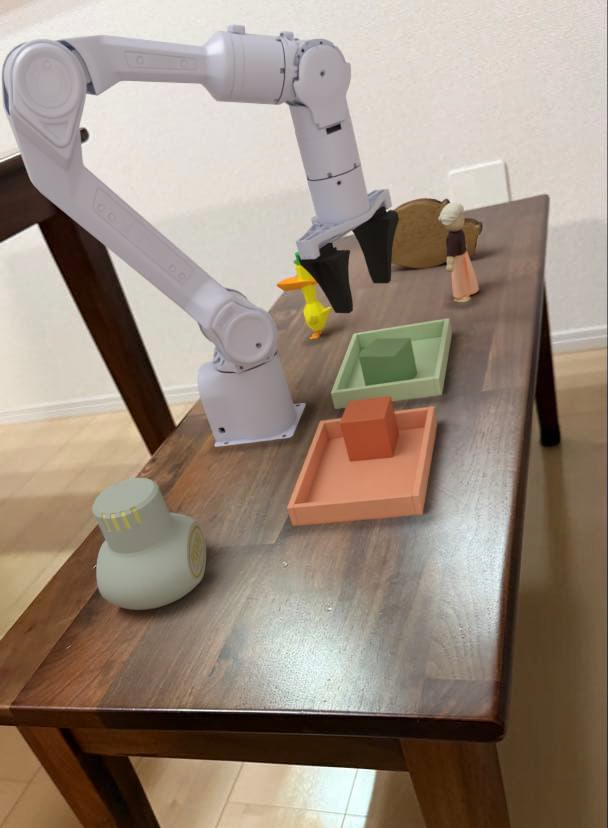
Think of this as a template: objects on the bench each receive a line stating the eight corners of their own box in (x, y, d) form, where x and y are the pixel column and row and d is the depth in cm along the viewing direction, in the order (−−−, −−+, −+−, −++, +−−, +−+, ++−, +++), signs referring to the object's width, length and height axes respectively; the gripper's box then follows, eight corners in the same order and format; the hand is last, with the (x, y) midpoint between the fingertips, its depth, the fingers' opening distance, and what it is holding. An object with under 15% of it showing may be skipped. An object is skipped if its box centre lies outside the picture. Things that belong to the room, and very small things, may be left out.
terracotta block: (349, 461, 85) (339, 422, 82) (357, 438, 88) (347, 401, 86) (393, 457, 83) (384, 417, 81) (399, 434, 87) (391, 395, 84)
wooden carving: (487, 250, 127) (478, 181, 121) (485, 260, 124) (476, 191, 118) (381, 268, 132) (367, 204, 127) (376, 279, 129) (362, 213, 123)
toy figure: (289, 348, 115) (265, 262, 109) (297, 336, 118) (274, 252, 111) (336, 342, 113) (314, 254, 106) (342, 331, 115) (321, 244, 109)
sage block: (401, 392, 94) (394, 355, 92) (366, 392, 97) (358, 356, 94) (417, 373, 97) (410, 337, 95) (383, 373, 100) (375, 338, 97)
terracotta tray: (293, 530, 78) (286, 508, 77) (325, 441, 91) (319, 420, 89) (423, 519, 75) (418, 495, 73) (438, 428, 87) (434, 405, 86)
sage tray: (335, 413, 96) (330, 392, 94) (357, 352, 108) (353, 333, 107) (442, 399, 92) (439, 377, 90) (452, 337, 104) (449, 317, 103)
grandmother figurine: (478, 306, 110) (465, 208, 103) (449, 311, 111) (433, 215, 104) (480, 285, 116) (467, 191, 109) (452, 290, 117) (438, 197, 110)
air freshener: (133, 558, 82) (93, 471, 76) (214, 542, 80) (179, 453, 75) (108, 633, 73) (61, 541, 67) (199, 617, 71) (158, 522, 66)
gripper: (343, 151, 93) (370, 270, 100) (261, 199, 85) (297, 324, 92) (396, 144, 88) (420, 269, 96) (314, 194, 80) (348, 326, 88)
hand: (363, 296), depth 94 cm, fingers open, 7 cm apart
